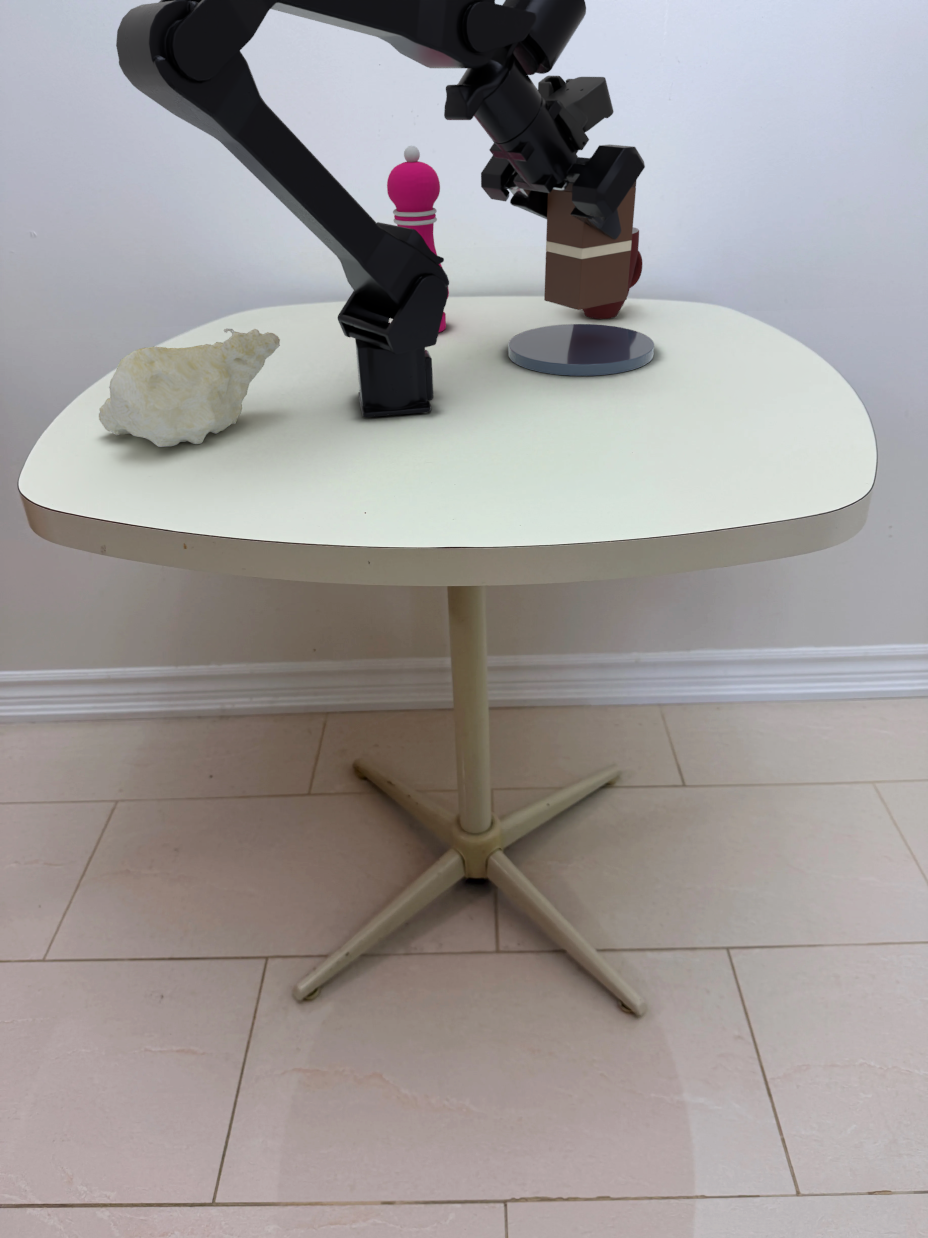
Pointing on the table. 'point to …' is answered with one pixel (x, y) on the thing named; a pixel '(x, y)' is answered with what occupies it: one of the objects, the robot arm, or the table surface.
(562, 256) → the cake slice
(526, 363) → the plate
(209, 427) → the white seashell
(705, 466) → the table surface
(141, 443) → the table surface
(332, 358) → the table surface
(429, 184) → the pepper mill
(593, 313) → the mug
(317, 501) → the table surface
